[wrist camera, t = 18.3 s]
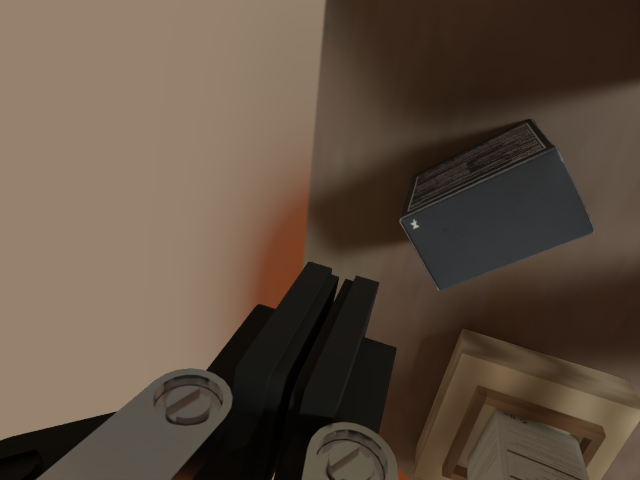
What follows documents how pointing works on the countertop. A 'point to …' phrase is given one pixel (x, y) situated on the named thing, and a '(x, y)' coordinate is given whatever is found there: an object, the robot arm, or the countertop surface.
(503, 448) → the supplement box
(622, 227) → the countertop surface
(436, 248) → the small box
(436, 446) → the maple plinth
